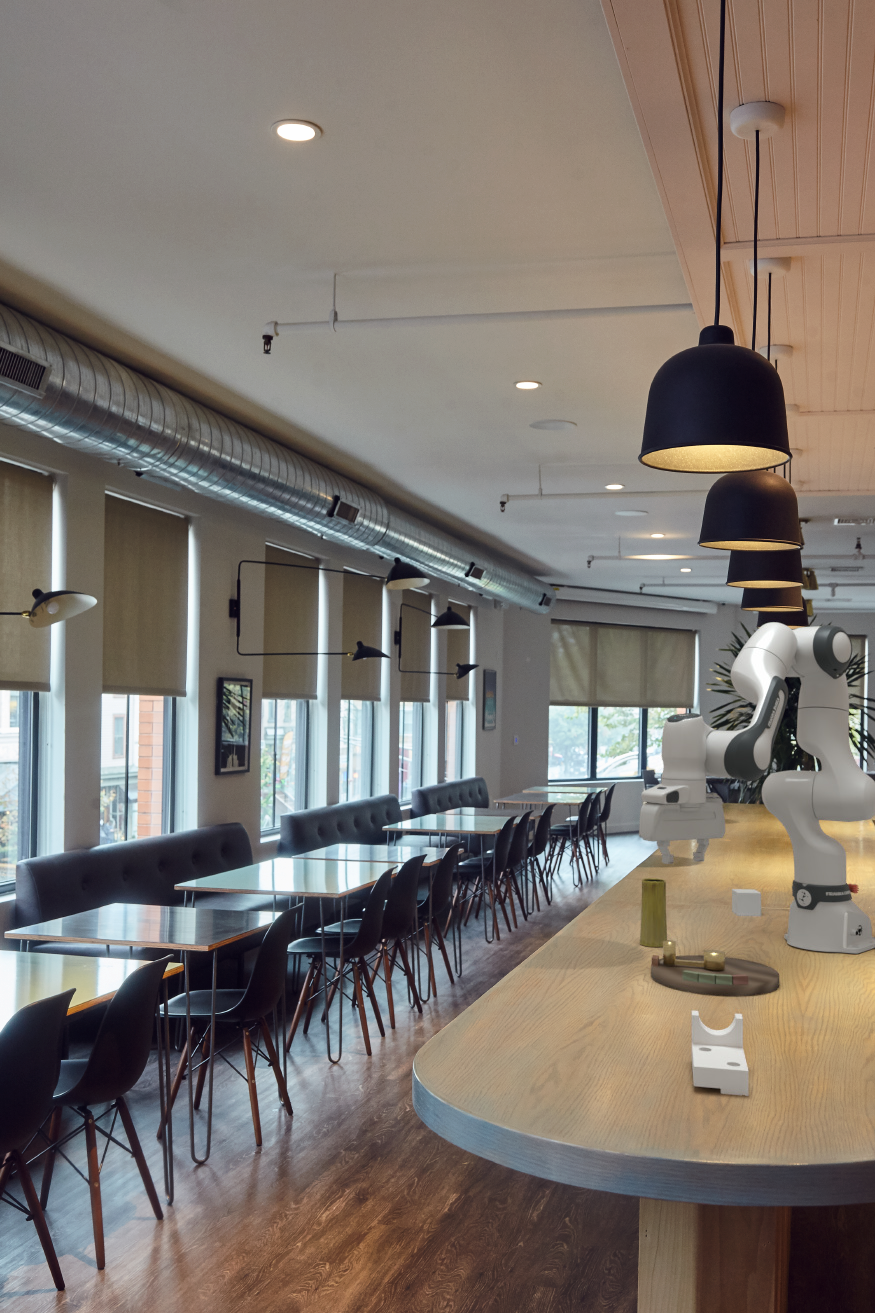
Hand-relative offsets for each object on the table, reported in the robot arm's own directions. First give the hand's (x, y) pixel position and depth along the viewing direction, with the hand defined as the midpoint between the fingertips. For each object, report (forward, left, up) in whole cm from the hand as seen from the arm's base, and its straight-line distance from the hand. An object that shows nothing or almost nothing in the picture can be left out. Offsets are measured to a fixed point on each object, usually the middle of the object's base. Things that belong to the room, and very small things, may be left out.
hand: (683, 862), depth 212 cm
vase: (-12, -20, -22) cm, 32 cm away
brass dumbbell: (+3, +5, -19) cm, 20 cm away
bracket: (+43, +47, -22) cm, 68 cm away
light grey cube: (-61, -36, -22) cm, 74 cm away
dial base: (+1, +8, -21) cm, 23 cm away
